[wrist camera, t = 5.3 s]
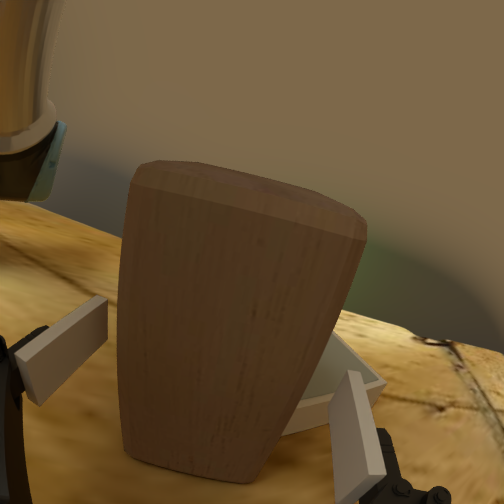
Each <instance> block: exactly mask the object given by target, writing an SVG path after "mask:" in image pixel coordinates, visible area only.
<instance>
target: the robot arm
mask: <svg viewBox="0 0 504 504" xmlns="http://www.w3.org/2000/svg"><path fill="white" fill-rule="evenodd" d="M66 1H67V0H0V200H6V201H19V202H25V203H28V202H29V201H35V202H36V201H37V202H38V201H40V202H41V201H45V200H46V199H47V198H48V197H49V196H50V194H51V191H52V187H53V183H54V179H55V174H56V170H57V166H58V162H59V158H60V154H61V150H62V146H63V142H64V139H65V134H66V130H67V125H66V124H65V123H63V122H61V121H57V122H56V115H57V113H56V108H55V106H54V104H53V103H52V102H51V101H50V100H49V99H47V97H48V88H49V80H50V73H51V66H52V60H53V54H54V49H55V44H56V39H57V35H58V31H59V26H60V23H61V19H62V15H63V11H64V8H65V4H66ZM107 340H108V299H106V298H104V297H101V296H99V295H96V296H94V297H93V298H91V299H90V300H88V301H87V302H85V303H84V304H82V305H81V306H80V307H78V308H77V309H75V310H74V311H72V312H71V313H69V314H68V315H66V316H65V317H64V318H62V319H61V320H59V321H58V322H57V323H55V324H54V325H52V326H51V327H49V326H47V325H45V326H42V327H39V328H37V329H35V330H34V331H32V332H31V333H30V334H28V335H27V336H25V338H22V339H21V340H20V341H18V342H17V343H15V344H14V345H13V346H11V347H10V348H9V349H7V346H6V342H5V339H4V338H3V336H1V335H0V504H33V503H32V499H31V494H30V488H29V482H28V476H27V469H26V461H25V451H24V438H23V413H22V394H21V393H23V392H24V391H26V394H27V397H28V399H29V400H31V401H32V402H33V403H35V404H36V405H38V406H39V407H40V406H41V405H42V404H43V403H44V402H45V401H46V400H47V399H48V398H49V397H50V396H51V395H52V394H53V393H54V392H55V391H56V390H57V389H58V388H59V387H60V386H61V385H62V384H63V383H64V382H65V381H66V380H67V379H68V378H69V377H70V376H71V375H72V374H73V373H74V372H75V371H76V370H77V369H78V368H79V367H80V366H81V365H82V364H83V363H84V362H85V361H86V360H87V359H88V358H89V357H90V356H91V355H92V354H93V353H94V352H95V351H96V350H97V349H98V348H99V347H100V346H101V345H102V344H104V343H105V342H106V341H107ZM328 415H329V425H330V436H331V447H332V460H333V474H334V490H335V504H354V503H355V502H356V501H358V500H359V504H451V494H450V492H449V491H448V490H447V489H446V488H444V487H442V486H436V487H433V488H432V489H431V490H430V491H428V492H426V491H421V490H416V489H413V487H412V485H411V484H410V483H409V482H408V481H407V480H405V479H403V478H402V477H401V474H400V470H399V466H398V462H397V458H396V454H395V453H394V452H395V451H394V447H393V443H392V440H391V436H390V435H389V434H388V432H387V431H386V430H385V428H376V427H375V423H374V419H373V415H372V411H371V408H370V404H369V400H368V397H367V393H366V390H365V386H364V383H363V379H362V376H361V372H358V371H352V370H347V371H346V373H345V375H344V377H343V379H342V381H341V383H340V384H339V386H338V388H337V390H336V392H335V394H334V395H333V397H332V399H331V401H330V402H329V404H328Z"/></svg>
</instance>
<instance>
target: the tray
mask: <svg viewBox="0 0 504 504" xmlns="http://www.w3.org/2000/svg"><path fill="white" fill-rule="evenodd" d="M347 370H352V371H358V372H361V376H362V379H363V383H364V386H365V390H366V393H367V397H368V400H369V404H370V408H372V406H373V405H374V403H375V402H376V400H377V399H378V397H379V396H380V394H381V392H382V391H383V389H384V388H385V386H386V385H387V382H386V381H385V380H384V379H383V378H382V377H381V376H380V375H379V374H378V373H377V372H376V371H375V370H374V369H373V368H371V367H370V366H369V365H368V364H367V363H366V362H365V361H364V360H363V359H362V358H361V357H360V356H359V355H358V354H357V353H356V352H355V351H354V350H353V349H352V348H351V347H350V346H349V345H347V344H346V343H345V342H344V341H343V340H342V339H341V338H340V337H339V336H338V335H337V334H336V333H335V332H334V331H333V332H332V334H331V336H330V338H329V341H328V343H327V345H326V348H325V350H324V352H323V354H322V356H321V359H320V361H319V363H318V365H317V367H316V369H315V371H314V373H313V375H312V378H311V380H310V382H309V384H308V386H307V388H306V390H305V392H304V394H303V396H302V398H301V400H300V402H299V403H298V405H297V407H296V409H295V411H294V413H293V415H292V417H291V419H290V420H289V422H288V424H287V426H286V428H285V429H284V431H283V433H282V435H281V436H284V435H288V434H292V433H296V432H300V431H304V430H307V429H311V428H315V427H318V426H321V425H325V424H328V423H329V415H328V404H329V402H330V401H331V399H332V397H333V395H334V394H335V392H336V390H337V388H338V386H339V384H340V383H341V381H342V379H343V377H344V375H345V373H346V371H347Z"/></svg>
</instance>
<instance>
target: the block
mask: <svg viewBox="0 0 504 504" xmlns="http://www.w3.org/2000/svg"><path fill="white" fill-rule="evenodd" d="M366 242H367V223H366V220H365V219H364V218H363V217H361V216H360V215H359V214H358V213H357V212H356V211H355V210H354V209H352V208H350V207H348V206H346V205H344V204H341V203H339V202H337V201H335V200H333V199H331V198H329V197H327V196H324V195H322V194H320V193H318V192H315V191H312V190H309V189H305V188H301V187H298V186H294V185H291V184H287V183H283V182H279V181H276V180H272V179H268V178H264V177H260V176H256V175H252V174H248V173H244V172H239V171H235V170H231V169H227V168H222V167H217V166H213V165H208V164H204V163H199V162H184V161H162V160H158V161H153V162H149V163H145V164H141V165H140V166H139V167H138V168H137V170H136V172H135V174H134V176H133V178H132V180H131V182H130V188H129V194H128V201H127V207H126V214H125V222H124V229H123V237H122V247H121V257H120V268H119V282H118V301H117V376H118V394H119V408H120V419H121V428H122V437H123V444H124V451H125V452H126V453H127V454H128V455H130V456H131V457H133V458H135V459H138V460H141V461H144V462H147V463H150V464H154V465H157V466H160V467H164V468H167V469H171V470H175V471H179V472H183V473H187V474H191V475H196V476H200V477H205V478H210V479H216V480H221V481H228V482H234V483H241V484H242V483H250V482H252V481H254V479H255V478H256V476H257V475H258V473H259V472H260V470H261V468H262V467H263V465H264V464H265V462H266V460H267V459H268V457H269V455H270V454H271V452H272V450H273V449H274V447H275V445H276V444H277V442H278V440H279V438H280V437H281V435H282V433H283V431H284V429H285V428H286V426H287V424H288V422H289V420H290V419H291V417H292V415H293V413H294V411H295V409H296V407H297V405H298V403H299V402H300V400H301V398H302V396H303V394H304V392H305V390H306V388H307V386H308V384H309V382H310V380H311V378H312V375H313V373H314V371H315V369H316V367H317V365H318V363H319V361H320V359H321V356H322V354H323V352H324V350H325V348H326V345H327V343H328V341H329V338H330V336H331V334H332V332H333V329H334V327H335V324H336V322H337V320H338V317H339V315H340V312H341V310H342V307H343V305H344V302H345V299H346V297H347V295H348V292H349V289H350V287H351V284H352V282H353V279H354V276H355V273H356V271H357V268H358V265H359V262H360V259H361V257H362V253H363V251H364V248H365V245H366Z"/></svg>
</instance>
